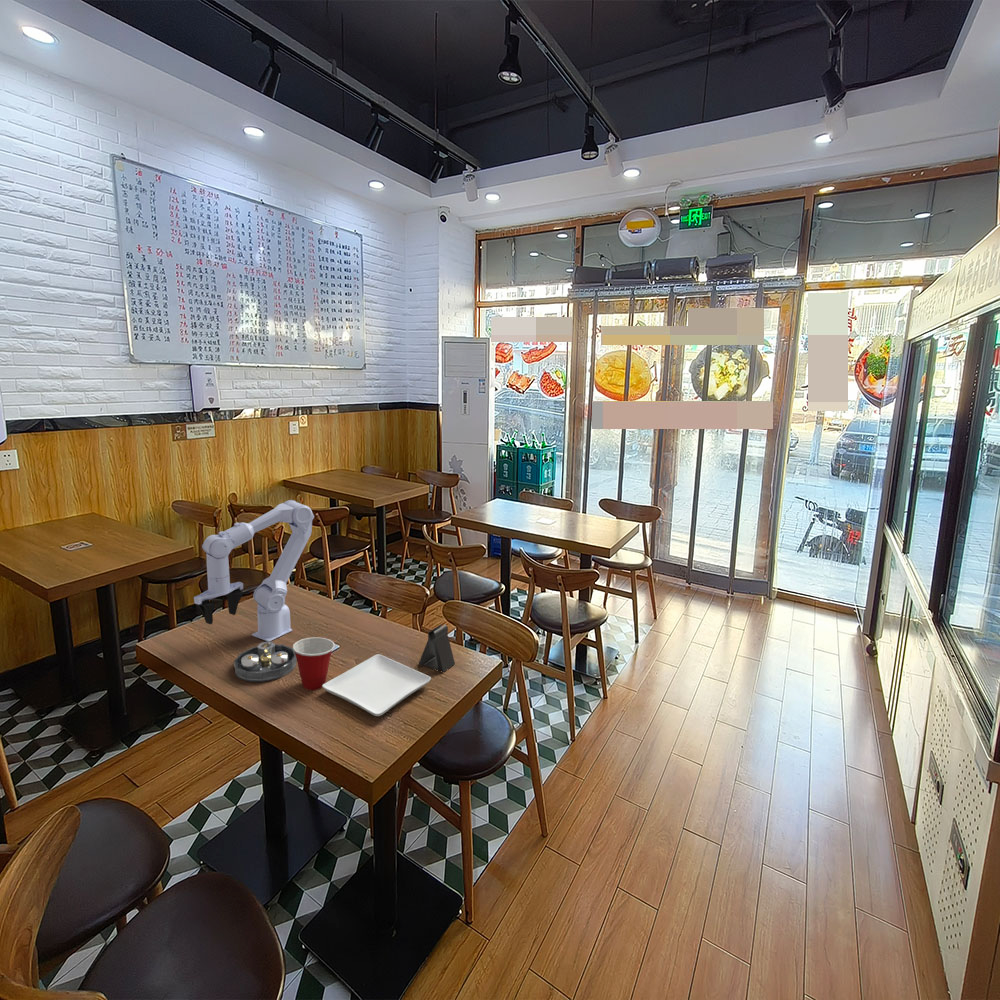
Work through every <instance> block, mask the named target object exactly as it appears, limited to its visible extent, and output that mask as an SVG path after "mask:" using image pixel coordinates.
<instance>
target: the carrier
mask: <svg viewBox="0 0 1000 1000" xmlns="http://www.w3.org/2000/svg"><path fill="white" fill-rule="evenodd" d="M274 644H275V643H274ZM260 657H261V659H259V656H258V647H257V646H253V647H251V648H249V649H247V650H245V651H243V652H240V654H238V655H237V657H236V658H235V659H234V660H233V666H234V671H235V673H234V674H235V676H236V677H237V678H238V679H240V680H242V681H244V682H250V683H265V682H270V681H275V680H277V679H281V678H283V677H285V676H286V675H289V674H290V673H291V672H292V671H293V670H294V669H295V667H296V666H297V659H296V655H295V651H294V650H293V647H290V646H288V645H285V644H280V643H279V644H278V643H277V644H275V653H273V654H272V655H271V654H269V653H264V654H262V655H261V656H260Z"/></svg>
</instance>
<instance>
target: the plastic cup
mask: <svg viewBox="0 0 1000 1000" xmlns="http://www.w3.org/2000/svg"><path fill="white" fill-rule="evenodd" d="M335 647H336V645H335V642H334V641H333V640H332V639H328V638H327V637H319V636H317V637H314V636H313V637H306V638H302V639H300V640H298V641H297V640H296V641H295V642H294V644H292V648H293V650H294V651H295V655H296V659H297V661H296V664H297V666H298V667H297V668H298V672H299V676H300V680H301V684H302V687H303V689H305V690H308V691H317V690H319V689H322V688H323V687H322V685H323V684H325V683H326V681H327V674H328V671H329V665H330V661H331V660H330V659H331V656H332V653H333V651H334V649H335Z"/></svg>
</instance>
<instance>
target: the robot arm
mask: <svg viewBox="0 0 1000 1000" xmlns="http://www.w3.org/2000/svg"><path fill="white" fill-rule="evenodd" d="M314 519H315V515H314V513H313V511H312V508H311V507H309V506H308V505H305V504H302V503H300V502H298V501H296V500H293V499H289V500H286V501H285V502H282V503H279V504H277V505H276V506H275V508H273V509H271V510H270V511H268V512H266V513H264V514H262V515H260V516H259V517H257V518H255V519H253V520H252V521H250V522H248V523H247V522H243V521H242V522H238V521H237V522H235V523H234V524H233V525H234V526H232V527H230V528H228V529H226V530H224V531H222V530H221V531H219V532H218V534H211V535H209V536H207V537H206V538H205V540H204V541H203V544H202V545H201V548H202V550H203V551H204V552H205V553H206V554H205V555H206V572H207V573H206V575H207V590H205V591H203V592H202V593H200V594H198V595H196V596H193V604H195V605H196V607H197V608H198V609H199V610H200V611H201V614H202V616H203V618H204V621H205V624H208V625H213V623H214V622H213V621H214V618H213V611H214V607H215V603H213V602H211V601H210V600H213V599H215V598H219V597H221V596H225V595H226V599H227V607H228V609H227V610H228V613H229V614H230V615H233V616H235V615H236V614H237V610H238V607H239V603H240V600H241V599H242V597H243V595H244V592H243V591H242V590H244V583H243V582H241V581H237V582H232V583H231V581H230V580H231V578H230V564H229V561H230V560H229V555H230V553H231V552H232V550H234V549H235V548H237V547H240V546H241V545H243V544H244V543H247V542H249V541H250V540H252V539H253V538H254V535H255V534H256V533H258V532H260V531H262V530H264V529H266V528H268V527H271V526H272V525H275V524H277V523H287V524H288V525H289V526H290V530H291V532H292V533H291V534H290V537H289V538H288V541H287V543H286V544H285V546H284V548H283V550H282V552H281V554H280V556H279V558H278V560H277V561H276V563H275V566H274V567H273V569H272V571H271V573H270V576H268V577H267V578H264V579H263V580H262V582H261V584H260V585H259V586H257V587H256V588H255V590H254V591H253V596H252V597H253V600H254V601H255V602H256V603H257V608H256V612H257V615H256V616H257V617H256V618H257V631H256V632H254V633H252V634H251V636H253V637H255V638H257V639H261V640H263V641H265V642H273V640H276V639H278V638H279V637H282V636H284V635H286V634H288V633H290V632H293V629H292V628H291V611H290V608H289V606H288V605H287V604H286V603H285V602H286V595H287V594H288V587H287V583H288V581H289V579H290V577H291V575H292V573H293V571H294V569H295V567H296V565H297V563H298V561H299V559H300V557H301V555H302V553H303V552H304V549H305V547H306V546H307V543H308V541H309V539H310V537H311V536H312V532H313V531H312V530H313V520H314Z"/></svg>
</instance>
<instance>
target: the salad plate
mask: <svg viewBox="0 0 1000 1000" xmlns="http://www.w3.org/2000/svg"><path fill="white" fill-rule="evenodd" d="M431 680H432V677H431V676H430V675H427V674H425V673H424V672H420V671H418V670H417V669H414V668H412V667H409V666H407V665H405V664H403V663H401V662H398V661H397V660H394V659H391V658H389V657H387V656H384V655H383V654H380V653H379V654H377V653H376V654H375V655H373V656H371V657H369V658H367V659H365V660H364V661H362V662H361V663H359V664H356V666H353V667H352V668H350V669H348V670H346V671H345V672H343V673H341V674H339V675H337V676H335V677H333V678H332V679H330V680H328V681H327V682H325V684H323V685H322V688H323V689H324V690H325V691H326V692H328V693H329V694H332V695H335V696H336V697H338V698H341V699H342V700H345V701H347V702H348V703H350V704H352V705H354V706H357V707H358V708H361V709H362V710H364V711H365V712H367V713H369V714H370V715H372V716H375V717H380V716H382V715H384V714H385V713H386V712H388V711H389V710H390V709H392V708H393V707H395V706H397V705H398V704H400V703H401V702H402V701H403V700H405V699H406V698H408V697H409V696H410V695H412V694H414V693H415V692H417V691H418V690H420V689H421V688H423V687H424V686H427V684H428V683H429V682H430V681H431Z"/></svg>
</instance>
